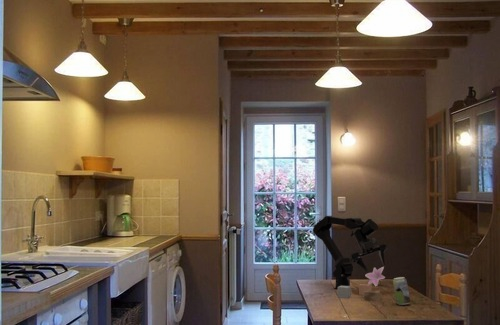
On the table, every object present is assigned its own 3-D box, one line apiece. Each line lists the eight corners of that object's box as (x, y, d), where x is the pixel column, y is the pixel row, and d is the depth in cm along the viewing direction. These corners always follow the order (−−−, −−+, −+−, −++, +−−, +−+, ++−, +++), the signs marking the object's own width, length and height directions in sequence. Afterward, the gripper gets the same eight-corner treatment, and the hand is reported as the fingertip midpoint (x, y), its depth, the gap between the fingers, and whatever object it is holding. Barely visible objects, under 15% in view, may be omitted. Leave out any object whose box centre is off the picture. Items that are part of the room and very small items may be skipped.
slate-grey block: (337, 297, 268) (337, 287, 268) (341, 296, 272) (341, 285, 273) (347, 298, 265) (347, 287, 266) (351, 296, 270) (350, 286, 270)
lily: (364, 285, 312) (360, 270, 309) (383, 276, 313) (378, 262, 310) (374, 295, 301) (369, 280, 298) (393, 286, 302) (389, 271, 299)
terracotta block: (359, 295, 274) (358, 284, 274) (362, 293, 279) (361, 283, 279) (369, 296, 272) (368, 285, 272) (372, 294, 276) (371, 284, 276)
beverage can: (411, 306, 245) (410, 278, 246) (393, 305, 247) (393, 278, 247) (409, 303, 251) (409, 276, 252) (392, 303, 253) (392, 276, 253)
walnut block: (364, 300, 260) (364, 292, 260) (367, 298, 265) (367, 290, 266) (377, 301, 257) (377, 292, 258) (380, 299, 263) (380, 290, 263)
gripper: (347, 240, 275) (360, 269, 268) (382, 228, 277) (395, 256, 270) (345, 248, 285) (357, 276, 278) (378, 236, 287) (392, 264, 280)
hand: (375, 268), depth 276 cm, fingers open, 9 cm apart
